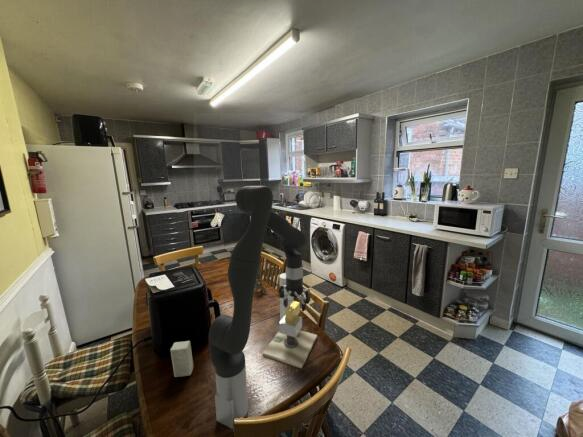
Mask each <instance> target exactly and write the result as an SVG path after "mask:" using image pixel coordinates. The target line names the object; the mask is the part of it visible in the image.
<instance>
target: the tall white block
mask: <svg viewBox="0 0 583 437" xmlns="http://www.w3.org/2000/svg"><path fill="white" fill-rule="evenodd" d="M278 278H279V287H280V286H281V285H282V284H284V285H285V286H286V272H283V273H281V274H279V277H278ZM287 293H288V292H287V291H286V289H285V290H284V295H286V294H287ZM287 298H288V306H287V307H285V306H284V300H283V298H280V297H279V313H280V317H279V318H280V319H279V320H280V321H281V320H282V319H283V317H284V316H285V315H286V310H287V309H288V308H289V306H290V305H291V304H292V303H293V301H295V300H294V298H295V297H291V296H290V295H289V296H288V297H287Z"/></svg>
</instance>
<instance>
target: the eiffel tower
mask: <svg viewBox="0 0 583 437" xmlns="http://www.w3.org/2000/svg"><path fill="white" fill-rule="evenodd" d="M262 280H263V278H262V277H261V271H260V268H259V269H258V274H257V278H256V283H255V289H254V295H253V297H254V298H258V295H257V294H258V290H260V289H262V290H261V291H263V294H264V295H265V294H266V293H267V292H268V291H267V290H266V287H265V286H264V284H263V282H262ZM264 287H265V288H264Z"/></svg>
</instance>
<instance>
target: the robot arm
mask: <svg viewBox="0 0 583 437" xmlns="http://www.w3.org/2000/svg"><path fill="white" fill-rule="evenodd" d="M235 204H236V206H237V208H238V209H239V210H240V211H241V212H242V213H245V214H246V215H248V216H250V219H249V220H250V221H249V225H248V227H247V229H246V231H245V232H244V234H242V236H241V238H240V239H239V240H238V242H237V243H236V244H235V246H234V247H233V249H232V251H231V253H230V258H229V264H228V269H227V280H228V284H229V288H230V291H231V295H232V298H233V299H232V300H233V316H232V315H228V314H221V315H219V316H217V317H216V318H215V319H214V320H213V321H212V323H211V324H210V325H211V326H210V328H209V331H208V332H209V333H208V345H209V352H210V353H209V354H210V359H211V363H212V365H213V367H214V373H215V384H216V386H215V387H216V393H215V395H214V403H215V404H214V406H215V413H216V415H215V417H216V421H217V422H218V423H220V424H222V425H224V426H226V427H228V428H230V429H234V427H233V420H234V419H235V418H240V417H245V418H246V417H247V414H248V410H249V404H248V387H247V385H248V384H247V367H246V355H245V354H244V349H245V348H246V346H247V343H248V342H249V336H250V331H251V323H252V312H253V311H252V310H253V302H254V301H253V300H254V298H253V295H254V291H255V283H256V278H257V274H258V269H260V262H261V256H262V251H263V250H262V249H263V243H264V239H265V235H266V230H267V228H268V229H269V230H270V231H271V232H273V234H275V236H277V237H278V238H279V239H281V245H282V249H283V252H284V255H285V264H286V267H285V273H286V286H285V285H284V284H282V285H281V286H280V285H279V299H280V298H283V300H284V306H285V307H287V306H288V298H287V297H288V296H289V295H290V296H291V297H294V298H296V299H298V300H299V302H300V303H301V312H303V313H304V311H306V309H307V305H308V304H309V303H311V290H310V289H309V288H307V289H305V288H304V287H303V286H304V273H303V272H304V271H303V255H302V253H301V252H299V251H297V249H299V250H300V249H303V248H304V247H305V246H306V244H307V238H306V235H305V233H304V232H302V231H301V230H300V229H298V228H296V227H295V226H293V225H292V224H291V223H290V222H289V221H288V220H287V219H286V218H285V217H283V215H281V214H279V213H277V212H275V211H273V210H272V208H273V204H274V196H273V191H272V189H271V188H270V187H269V186H267V185H245V186H242V187H240V188H238V190H237V191H236V194H235ZM285 289H286V291H287V292H288V293H287V294H286V295H284V290H285Z"/></svg>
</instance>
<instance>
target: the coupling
mask: <svg viewBox="0 0 583 437" xmlns="http://www.w3.org/2000/svg"><path fill="white" fill-rule="evenodd" d="M300 313H301V301H296V300H294V301H293V303H292V304H291V305H290V306H289V308H288V309H287V310H286V315H285V316H284V317H283V319H282V320H280V321H279V323H278V325H279V326H278V327H279V328H278V329H279V330H278V332H279V331H280V333H282V334H285V335H289V336H292V337H296V336H297V334H298V333H299V331H300V330H301V329H302V327H303V316H299V314H300Z"/></svg>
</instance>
